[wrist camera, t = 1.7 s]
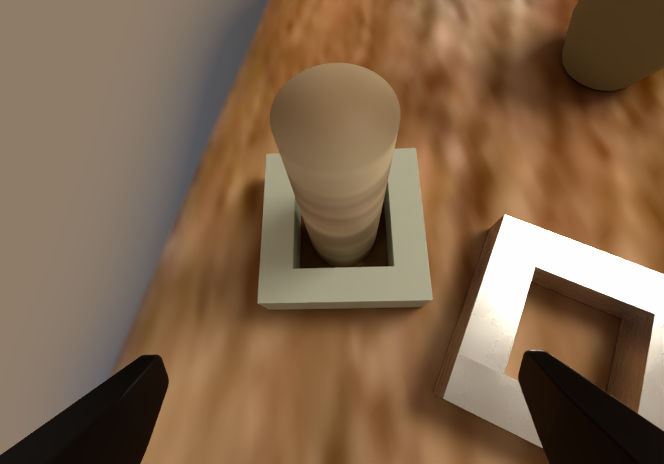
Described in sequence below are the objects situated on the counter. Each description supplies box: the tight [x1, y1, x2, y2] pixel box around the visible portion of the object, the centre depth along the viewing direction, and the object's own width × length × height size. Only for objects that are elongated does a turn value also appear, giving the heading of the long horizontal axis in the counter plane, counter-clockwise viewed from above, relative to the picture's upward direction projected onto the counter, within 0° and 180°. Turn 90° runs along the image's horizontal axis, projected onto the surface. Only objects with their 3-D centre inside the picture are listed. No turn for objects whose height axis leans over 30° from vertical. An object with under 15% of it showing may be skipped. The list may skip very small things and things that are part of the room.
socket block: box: [432, 215, 664, 448], centre depth 20 cm, size 12×12×2 cm
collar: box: [257, 148, 433, 310], centre depth 23 cm, size 10×10×3 cm
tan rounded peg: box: [270, 63, 400, 267], centre depth 18 cm, size 4×4×13 cm
